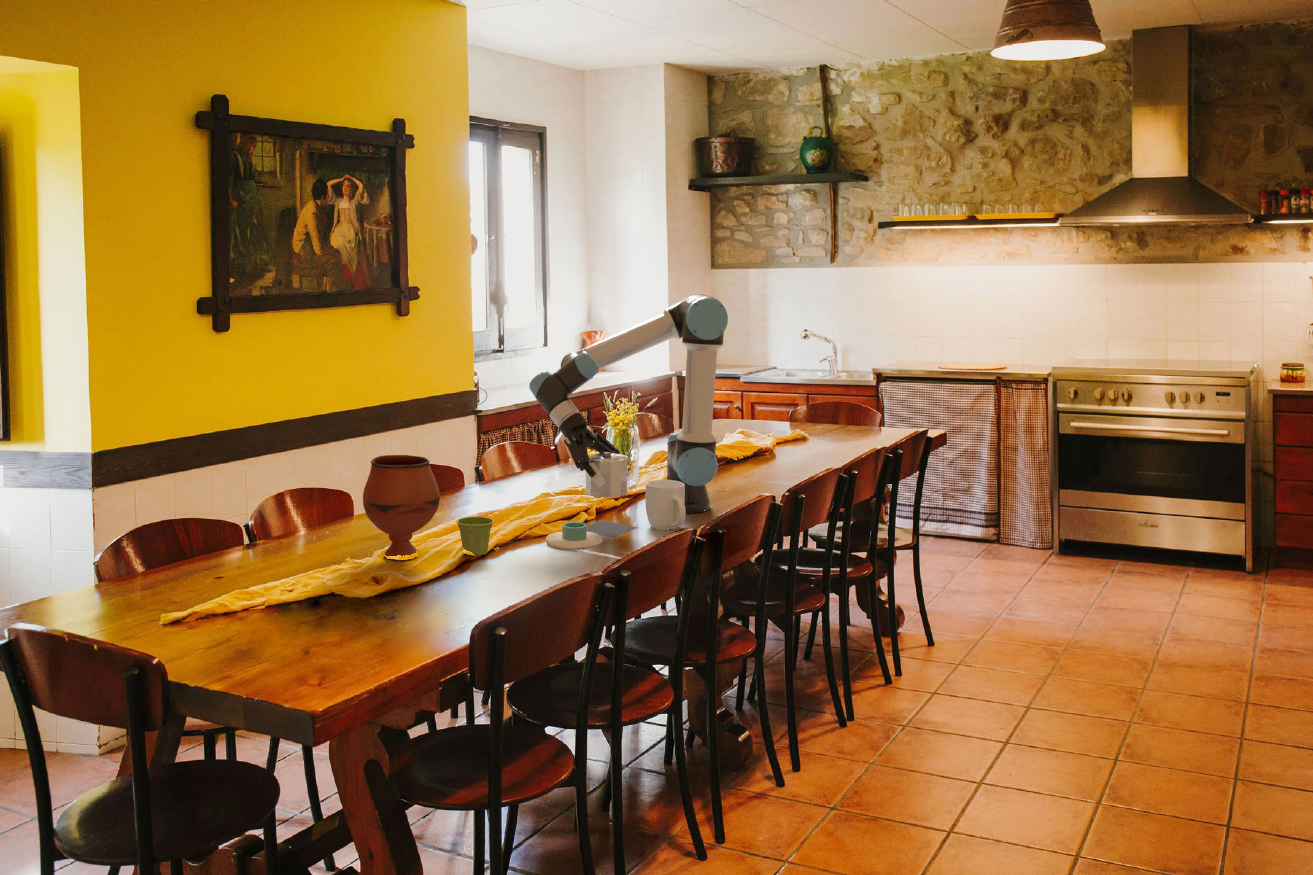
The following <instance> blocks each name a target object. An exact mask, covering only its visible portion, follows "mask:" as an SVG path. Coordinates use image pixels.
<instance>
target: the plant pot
mask: <svg viewBox="0 0 1313 875" xmlns="http://www.w3.org/2000/svg"><path fill="white" fill-rule="evenodd" d="M494 521H495V520H494V519H493V518H491V517H486V516H466V517H460V518H458V519H457V520H456V524H457V526H458V527H457V528H458V529H459V534H460V540H461V547H463V548H464V549H465V550H467V551H470V552H472V553H473V554H474V555H475V556H474V557H480V556H482V555H484V556H485V555H486V554H488V549H489V542H490V535H491V530H492V526H493V524H494ZM463 548H462V549H463Z"/></svg>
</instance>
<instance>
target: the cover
mask: <svg viewBox="0 0 1313 875" xmlns="http://www.w3.org/2000/svg"><path fill="white" fill-rule="evenodd" d="M588 457H589V461H590V464H591V463H593V464H594V466H595V467H596V468H597V470H598V471H599V472H600V474H601V475H602V476H603V478H604V479H605V480H606V483H605V484H604V485H603V486H602V487H601V488H599V487H598V486H597V485H596V483H595V482H594V481H593V479H592V478H591V477H590V476H589V474H588V473H587V472H586V471H585V494H586V495H588V496H591V497H595V498H596V497H597V498H617V497H623V496H626V495H627V494H628V477H627V470H628V456H627V455H625V454H621V453H619V454H614V453H610V452H603V453H592V454H588ZM590 464H589V465H590Z"/></svg>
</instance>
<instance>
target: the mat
mask: <svg viewBox="0 0 1313 875" xmlns="http://www.w3.org/2000/svg"><path fill="white" fill-rule="evenodd" d="M636 529H638V526H632V525H626V524H622V523H615V522H611V521H604V520H598V521H594V522H592V523H589V524H587V532H593V533H596V534H599V535H601V536H602V537H603V536H604V537H609V538H614V537H617V536H619V535H622V534H625V533H627V532H631V531H633V530H636Z"/></svg>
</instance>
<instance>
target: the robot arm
mask: <svg viewBox="0 0 1313 875" xmlns="http://www.w3.org/2000/svg"><path fill="white" fill-rule="evenodd" d="M728 315H729V314H728V311H727V309H726V307H725V305H723V303H722V302H721V300H718V298H715V297H714V296H710V295H709V296H708V295H706V294H702V293H701V294H700V293H699V294H694V295H690V296H688V297H687V298H684V299H682V300H681V301H679V302H676V303H675V304H673V305H671V306H670V307H667V308H665V309H664V311H663V313H662V314H659V315H657V316H656V317H652V318H651V319H648V320H646V321H644V322H641V323H638V324H637V325H634V326H632V327H630V328H627V329H625V330H623V331H620V332H618V333H616V334H614V335H611V336H609V337H607V338H605V339H602V340H599V341H598V342H596V343H593V344H591V345H589V346H587V347H585V348H583V349H579V350H577V351H575V352H573V351H572V352H569V353H566V354H565V355H564V356H563V357H562V360H561V361H560V368H559V369H558V370H557V371H555V372H554V373H551V372H549V371H547V370H544V371H541V372H540V373H538V374H537V375H535V376H534V377H533V378H532V379H531V381H530V382H529V384H528V386H529V388H528V389H530V390H529V391H531V393H532V395H533V396H534V398H535V400H536V401H537V402H538V403H539V405H540V406H541V407H542V408H543V410H544V411H545V412H546V414H547V415H548V416H549V417H550V418H551V420H552V422H553V423H554V424H555V426H557V428H559V431H560V433H561V434H562V435H563V437H565V439H563V443H564V445H565V446H566V447H567V449H568V452H569V453H570V455H571V458H572V460H573V463H574V465H575V467H576V468H577V469H579V471H580V472H583V471H585V473H586V472H587V473H588V474H589V476H590V477H591V478H592V479H593V481H594V482H595V483H596V485H597V486H598V487H599V488H601V487H602V486H603V485H604V484H605V483H606V480H605V479H604V478H603V476H602V475H601V474H600V472H599V471H598V470H597V468H596V467H595V466H594V464H593V463H591V464H590V461H589V457H588V455H589V452H588V448H589V449H591V450H594V451H595V452H597V453H598V454H600V453H603V452H610V453H614V454H621V451H620V450H619V449H618V448H617V447H615V446H614V444H613V443H611V442H610V441H609V440H608V439H607V438H606V437H605V436H603V435H602V434H601V433H600V431H599V430H598V428H594V429H593V430H590V429H589V428H588V421H587V419H586V418H585V417H584V416H583V414H582V413H581V412H580V410H579V409H578V408H577V406H576V405H575V403H574V402H573V401H572V400H571V399H570V397H569V396H570V395H572V393H574V392H575V391H577V390H578V389H579V388H580V387H583V385H584V384H586V383H588V382H589V381H590V380H592V379H593V378H594V377H595V376H596V375H597V374H598V373H599V372H600V370H601V369H604V368H607V367H608V366H611V365H613V364H615V363H617V362H620V361H622V360H624V359H627V358H630V357H631V356H634V355H636V354H639V353H641V352H643V351H645V350H647V349H650V348H652V347H654V346H657V345H659V344H661V343H663V342H666V341H668V340H669V341H670V339H673V338H674V339H677V340H679V339H681V338H682V341H681V343H682V344H683V345H684V346H685V348H686V350H687V351H686V360H685V361H686V362H685V364H686V365H685V380H684V395H683V412H682V426H681V427H682V428H681V432H672V433H670V434H669V435H668V437H667V442H666V445H667V459H666V460H667V461H666V462H667V463H666V480H674V481H679V482H682V483H684V484H685V502H684V505H685V510H686V514H697V512H699V513H702V512H701V511H704V510H708V509H709V508H710V509H711V499H710V496H709V492H708V490H707V486H706V485H708V483H711V481H713V479H714V478H715V477H716V476H717V473H718V470H719V463H718V459H717V456H716V453H717V452H716V451H717V450H716V449H717V438H716V436H714V434H713V433H712V431H713V419H714V418H713V416H714V402H715V401H714V400H715V391H716V390H715V389H716V388H715V387H716V372H717V371H716V370H717V359H718V351H719V349H721V347H723V346H724V334H725V331H726V329H727V328H728V327H727V326H728V323H729V322H728V321H729V316H728ZM589 464H590V465H589ZM629 476H631V473H630V471H629V470H628V469H627V478H628V477H629ZM710 509H709V510H710ZM709 510H708V511H709Z"/></svg>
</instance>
